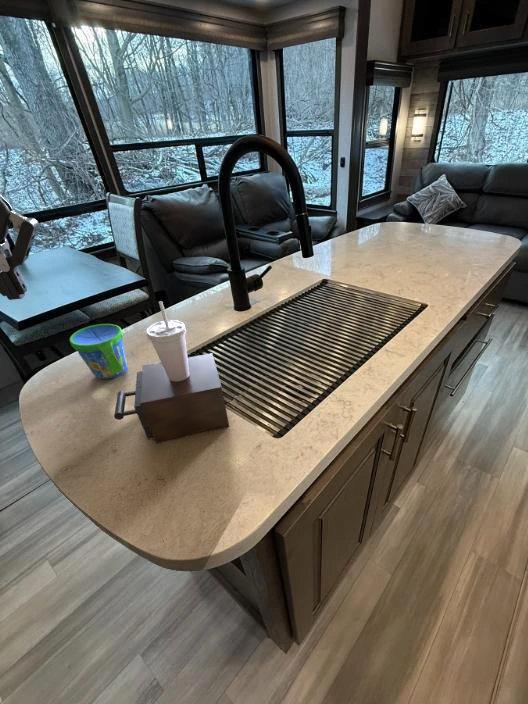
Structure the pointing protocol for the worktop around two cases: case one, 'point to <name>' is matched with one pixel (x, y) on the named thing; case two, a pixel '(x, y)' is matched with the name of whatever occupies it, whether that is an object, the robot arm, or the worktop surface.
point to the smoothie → (170, 346)
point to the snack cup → (101, 349)
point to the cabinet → (183, 400)
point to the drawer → (138, 410)
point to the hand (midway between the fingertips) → (17, 297)
